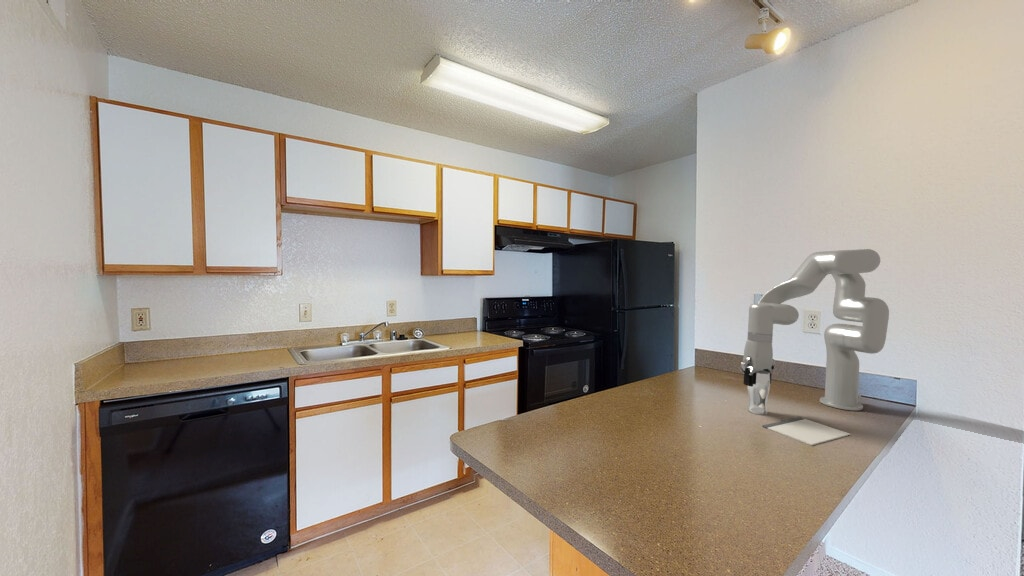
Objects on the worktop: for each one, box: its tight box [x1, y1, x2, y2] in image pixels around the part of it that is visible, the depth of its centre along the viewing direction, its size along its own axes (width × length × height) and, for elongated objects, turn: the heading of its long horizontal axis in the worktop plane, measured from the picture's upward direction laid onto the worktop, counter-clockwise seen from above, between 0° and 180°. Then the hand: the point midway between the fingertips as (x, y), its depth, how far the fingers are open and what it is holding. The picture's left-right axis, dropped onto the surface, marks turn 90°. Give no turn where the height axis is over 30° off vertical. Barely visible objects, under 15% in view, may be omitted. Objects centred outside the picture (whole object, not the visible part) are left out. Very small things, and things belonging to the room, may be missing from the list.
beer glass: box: [746, 369, 771, 416], centre depth 135 cm, size 7×7×15 cm
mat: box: [762, 416, 851, 446], centre depth 119 cm, size 20×14×1 cm
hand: (757, 384), depth 135 cm, fingers open, 9 cm apart
